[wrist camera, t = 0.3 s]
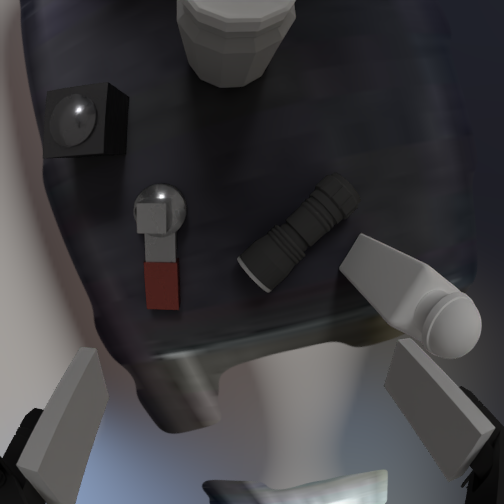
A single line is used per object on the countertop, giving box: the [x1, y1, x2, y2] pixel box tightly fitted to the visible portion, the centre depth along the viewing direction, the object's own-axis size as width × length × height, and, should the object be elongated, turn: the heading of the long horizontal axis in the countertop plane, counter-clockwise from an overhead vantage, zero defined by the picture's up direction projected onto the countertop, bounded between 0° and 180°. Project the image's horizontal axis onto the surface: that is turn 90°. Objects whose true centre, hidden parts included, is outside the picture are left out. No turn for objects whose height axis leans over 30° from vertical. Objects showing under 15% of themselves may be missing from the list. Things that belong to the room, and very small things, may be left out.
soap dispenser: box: [339, 234, 481, 359], centre depth 31 cm, size 6×6×22 cm
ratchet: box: [134, 183, 187, 310], centre depth 34 cm, size 15×6×6 cm, turn 177°
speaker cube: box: [43, 82, 129, 158], centre depth 29 cm, size 7×7×8 cm
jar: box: [177, 0, 296, 88], centre depth 23 cm, size 10×10×18 cm
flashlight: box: [237, 173, 361, 293], centre depth 36 cm, size 15×5×5 cm, turn 133°
